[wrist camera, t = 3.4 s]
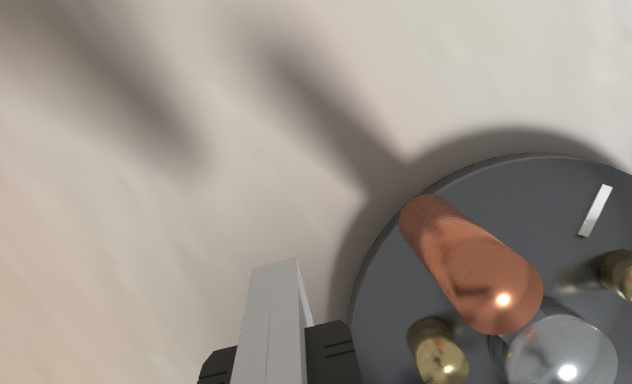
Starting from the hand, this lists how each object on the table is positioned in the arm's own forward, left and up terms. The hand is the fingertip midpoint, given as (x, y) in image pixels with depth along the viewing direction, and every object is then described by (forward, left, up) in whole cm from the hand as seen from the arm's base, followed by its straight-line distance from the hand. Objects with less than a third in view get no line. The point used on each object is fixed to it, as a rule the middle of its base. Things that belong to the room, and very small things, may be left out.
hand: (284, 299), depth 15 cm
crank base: (+5, -11, -6) cm, 14 cm away
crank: (+5, -8, -4) cm, 10 cm away
